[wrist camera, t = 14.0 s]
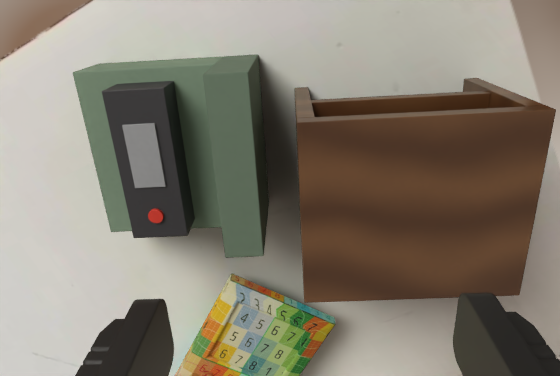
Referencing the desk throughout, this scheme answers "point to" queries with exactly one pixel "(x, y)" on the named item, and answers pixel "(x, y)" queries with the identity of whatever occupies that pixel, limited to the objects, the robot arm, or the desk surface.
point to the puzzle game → (255, 334)
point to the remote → (150, 157)
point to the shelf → (418, 192)
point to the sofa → (195, 142)
